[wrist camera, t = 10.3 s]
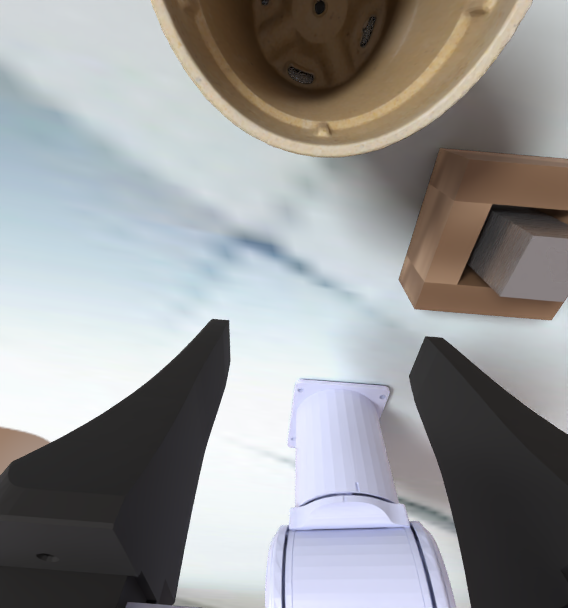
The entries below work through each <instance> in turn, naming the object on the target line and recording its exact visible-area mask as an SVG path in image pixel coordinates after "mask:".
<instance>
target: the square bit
mask: <svg viewBox="0 0 568 608" xmlns="http://www.w3.org/2000/svg"><path fill="white" fill-rule="evenodd" d="M467 264H468V265H469V266H470V267H471V268H472V269H473V270H474V271H475V272H476V273H477V274H478V275H479V276H480V277H481V278H482V279H483V280H484V281H485V282H486V283H487V284H488V285H489V286H490V287H491V288H492V289H493V290H494V291H495V292H496V293H497V294H498V295H499V296H500V297H511V298H523V299H534V300H545V301H556V302H564V300H565V299H566V298H567V296H568V224H566V223H564V222H562V221H560V220H558V219H555V218H553V217H551V216H549V215H547V214H545V213H543V212H541V211H539V210H537V209H535V208H533V207H522V206H510V205H498V204H492V206H491V208H490V211H489V213H488V215H487V218H486V220H485V222H484V224H483V227H482V229H481V231H480V234H479V236H478V238H477V240H476V243H475V245H474V247H473V250H472V252H471V254H470V256H469V259H468V261H467Z"/></svg>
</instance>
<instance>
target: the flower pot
mask: <svg viewBox="0 0 568 608" xmlns="http://www.w3.org/2000/svg"><path fill="white" fill-rule="evenodd" d="M318 1H320V0H268V3H267V4H266V5H264V4H262V0H151V3H152V6H153V9H154V11H155V13H156V15H157V18H158V20H159V23H160V25H161V28H162V31H163V33H164V35H165V37H166V38H167V39H168V41H169V44H170V46H171V48H172V50H173V51H174V53H175V55H176V56H177V58H178V60H179V61H180V62H181V64H182V66H183V68H184V70H185V71H186V72H187V74H188V75H189V77H190V78H191V79H192V81H193V82H194V83H195V85H196V86H197V87H198V88H199V90H200V91H201V92H202V94H203V95H204V97H205V98H206V99H207V100H208V101H209V102H211V104H212V105H213V106H214V107H216V108H217V109H218V110H219V111H220V112H221V113H222V114H223V115H224V116H225V117H226V118H227V119H229V120H230V121H231V122H232V123H233V124H235V125H236V126H237V127H239V128H240V129H241V130H243V131H245V132H246V133H248V134H249V135H251V136H253V137H255V138H257V139H259V140H261V141H263V142H265V143H267V144H268V145H271V146H273V147H276V148H280V149H282V150H285V151H288V152H292V153H295V154H300V155H306V156H312V157H333V158H338V157H347V156H354V155H360V154H364V153H368V152H371V151H376V150H380V149H383V148H385V147H387V146H389V145H392V144H394V143H396V142H399V141H401V140H403V139H405V138H407V137H409V136H410V135H412V134H414V133H416V132H418V131H419V130H421V129H422V128H424V127H426V126H427V125H429V124H430V123H432V122H433V121H434V120H436V119H438V118H439V117H440V116H442V114H443V113H445V112H446V111H447V110H448V109H450V108H451V107H452V106H453V105H454V104H456V103H457V102H458V101H459V100H460V99H461V98H462V97H463V96H464V95H465V94H466V93H467V92H468V91H469V90H470V89H471V87H472V86H473V85H474V84H476V83H477V82H478V80H479V79H480V78H481V77H482V76H483V75H484V74H485V73H486V71H487V70H488V68H489V67H490V66H491V65H492V63H493V62H494V61H495V60H496V58H497V57H498V55H499V54H500V52H501V51H502V50H503V48H504V47H505V46H506V44H507V43H508V42H509V41H510V39H511V38H512V36H513V35H514V33H515V31H516V29H517V27H518V26H519V24H520V22H521V21H522V19H523V18H524V16H525V14H526V12H527V11H528V9H529V8H530V6H531V4H532V1H533V0H321V1H323V2H324V5H325V9H324V11H323V12H322V13H321V14H317V13H316V11H315V5H316V3H317V2H318ZM371 17H375V18H376V20H375V23H374V27H373V30H372V32H371V35H370V38H369V40H368V42H367V43H366V44H365V45H364V46H362V47H361V46H360V43H361V41H362V38H363V35H364V32H363V28H364V29H365V28H366V26H367V24H368V22H369V19H370V18H371ZM290 67H293V68H296V69H297V70H300V71H303V72H305V73H308V74H312V75H313V82H312V83H306V84H304V83H300V82H299V81H295V80H294V79H292V77H291V76H290V75H289V73H288V69H289V68H290Z"/></svg>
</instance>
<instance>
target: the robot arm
mask: <svg viewBox="0 0 568 608" xmlns="http://www.w3.org/2000/svg"><path fill="white" fill-rule="evenodd" d="M229 366H230V335H229V320H218V319H212V320H211V321H209V322H208V324H207V325H206V326H205V327H204V328H203V329H202V330H201V332H200V333H199V334H198V335H197V336H196V337H195V338H194V339H193V340H192V341H191V342H190V343H189V344H188V345H187V346H186V347H185V348H184V349H183V350H182V351H181V352H180V353H179V354H178V355H177V356H176V357H175V358H174V359H173V360H172V361H171V362H170V363H169V364H168V365H167V366H165V367H164V368H163V369H162V370H161V371H160V372H159V373H158V374H156V375H155V376H154V377H153V378H152V379H150V380H149V381H148V382H147V383H145V384H144V385H143V386H141V387H140V388H139V389H138V390H136V391H135V392H134V393H132V394H131V395H129V396H128V397H127V398H125V399H124V400H122V401H121V402H119V403H118V404H116V405H115V406H113V407H112V408H110V409H109V410H107V411H106V412H104V413H103V414H101V415H100V416H98V417H96V418H94V419H93V420H91V421H89V422H88V423H86V424H84V425H83V426H81V427H79V428H77V429H76V430H74V431H72V432H70V433H68V434H67V435H65V436H63V437H61V438H59V439H57V440H55V441H53V442H51V443H49V444H47V445H45V446H43V447H41V448H39V449H37V450H35V451H33V452H31V453H29V454H27V455H26V456H23V457H21V458H19V459H17V460H15V461H13V462H12V463H11V464H10V465H9V466H8V467H7V468H6V469H5V471H4V472H3V473H2V474H1V475H0V608H200V607H187V606H174V605H173V604H174V602H175V598H176V592H177V587H178V581H179V576H180V570H181V565H182V559H183V554H184V549H185V544H186V539H187V533H188V528H189V523H190V518H191V513H192V508H193V504H194V499H195V494H196V489H197V485H198V480H199V475H200V471H201V466H202V462H203V457H204V453H205V450H206V446H207V442H208V439H209V436H210V433H211V430H212V427H213V424H214V421H215V418H216V414H217V411H218V408H219V405H220V402H221V399H222V396H223V393H224V389H225V386H226V381H227V377H228V371H229ZM409 378H410V383H411V388H412V392H413V396H414V400H415V403H416V406H417V409H418V412H419V414H420V417H421V420H422V422H423V425H424V428H425V430H426V433H427V435H428V438H429V441H430V443H431V446H432V448H433V451H434V454H435V456H436V459H437V462H438V465H439V468H440V471H441V474H442V477H443V481H444V485H445V488H446V492H447V496H448V499H449V503H450V507H451V511H452V516H453V520H454V524H455V528H456V532H457V537H458V541H459V546H460V551H461V555H462V560H463V565H464V570H465V575H466V581H467V586H468V592H469V597H470V603H471V608H568V434H566V433H565V432H563V431H561V430H560V429H558V428H557V427H555V426H554V425H552V424H551V423H550V422H548V421H547V420H545V419H544V418H542V417H541V416H539V415H538V414H536V413H535V412H534V411H532V410H531V409H529V408H528V407H527V406H525V405H524V404H523V403H521V402H520V401H519V400H517V399H516V398H515V397H513V396H512V395H511V394H510V393H508V392H507V391H506V390H504V389H503V388H502V387H501V386H499V385H498V384H497V383H496V382H494V381H493V380H492V379H491V378H490V377H488V376H487V375H486V374H485V373H484V372H482V371H481V370H480V369H479V368H478V367H477V366H475V365H474V364H473V363H472V362H471V361H470V360H468V359H467V358H466V357H465V356H464V355H463V354H461V353H460V352H459V351H458V350H457V349H456V348H454V347H453V346H452V345H451V344H449V343H448V342H447V341H446V340H444V339H443V338H438V337H426V336H425V339H424V341H423V343H422V346H421V348H420V351H419V353H418V355H417V358H416V360H415V363H414V365H413V367H412V370H411V372H410V375H409ZM300 388H301V389H300ZM389 394H390V390H389V388H388V387H387V386H379V385H367V384H354V383H342V382H330V381H317V380H305V379H299V380H297V381H296V383H295V389H294V397H293V404H292V412H291V420H290V427H289V435H288V446H289V447H291V448H296V481H295V508H290V514H289V525H282V526H280V527H279V529H278V531H277V533H276V534H275V535H274V537H273V538H272V540H271V543H270V547H269V553H268V560H267V570H266V588H265V608H456V604H455V600H454V596H453V592H452V588H451V584H450V581H449V577H448V574H447V571H446V568H445V564H444V561H443V559H442V556H441V553H440V551H439V548H438V546H437V543H436V541H435V539H434V538H433V536H432V535H431V533H430V532H429V531H427V530H426V529H425V528H424V527H423V525H422V524H421V523H420V522H419V521H409V519H408V515H407V511H406V507H405V505H404V504H399V501H398V497H397V493H396V489H395V485H394V481H393V476H392V472H391V468H390V464H389V460H388V456H387V452H386V448H385V444H384V440H383V436H382V431H381V427H380V423H379V420H380V417H381V415H382V412H383V410H384V407H385V404H386V402H387V399H388V397H389Z"/></svg>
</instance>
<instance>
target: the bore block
mask: <svg viewBox="0 0 568 608" xmlns="http://www.w3.org/2000/svg"><path fill="white" fill-rule="evenodd" d="M492 204H498V205H510V206H522V207H533V208H535V209H537V210H539V211H541V212H543V213H545V214H547V215H549V216H551V217H553V218H555V219H558V220H560V221H562V222H564V223H566V224H568V159H562V158H551V157H539V156H527V155H515V154H504V153H492V152H480V151H468V150H457V149H445V148H440V149H439V153H438V156H437V159H436V162H435V165H434V168H433V172H432V175H431V178H430V181H429V184H428V188H427V191H426V194H425V197H424V200H423V203H422V207H421V210H420V213H419V216H418V219H417V223H416V226H415V229H414V232H413V235H412V239H411V242H410V245H409V248H408V251H407V254H406V258H405V261H404V264H403V267H402V270H401V274H400V277H399V281H400V283H401V285H402V287H403V289H404V290H405V292H406V294H407V296H408V298H409V300H410V302H411V303H412V305H413V307H414V309H420V310H432V311H444V312H456V313H468V314H481V315H493V316H505V317H517V318H529V319H541V320H552V319H553V317H554V316H555V314H556V313H557V311H558V310H559V309H560V307H561V306H562V304H563V303H564V302H556V301H545V300H534V299H523V298H511V297H500V296H499V295H498V294H497V293H496V292H495V291H494V290H493V289H492V288H491V287H490V286H489V285H488V284H487V283H486V282H485V281H484V280H483V279H482V278H481V277H480V276H479V275H478V274H477V273H476V272H475V271H474V270H473V269H472V268H471V267H470V266H469V265H468V264H467V261H468V259H469V256H470V254H471V252H472V250H473V247H474V245H475V243H476V240H477V238H478V236H479V234H480V231H481V229H482V227H483V224H484V222H485V220H486V218H487V215H488V213H489V211H490V208H491V206H492ZM567 297H568V296H567ZM565 300H566V299H565ZM565 300H564V301H565Z"/></svg>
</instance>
